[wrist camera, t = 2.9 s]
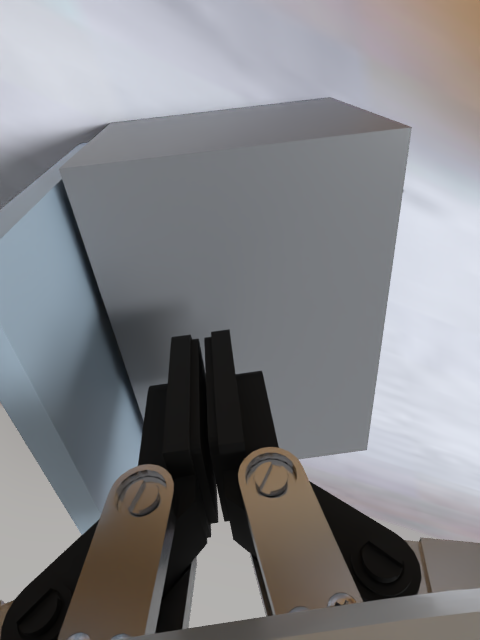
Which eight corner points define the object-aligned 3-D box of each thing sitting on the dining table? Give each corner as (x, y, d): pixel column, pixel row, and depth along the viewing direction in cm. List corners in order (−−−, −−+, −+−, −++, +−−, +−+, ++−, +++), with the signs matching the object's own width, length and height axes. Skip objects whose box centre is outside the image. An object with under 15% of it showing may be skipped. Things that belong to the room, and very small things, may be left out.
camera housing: (110, 122, 16) (58, 168, 10) (330, 97, 16) (411, 127, 10) (176, 385, 24) (169, 498, 18) (322, 366, 25) (363, 471, 19)
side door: (79, 143, 16) (-78, 274, 7) (100, 141, 16) (-29, 268, 7) (147, 371, 23) (115, 589, 13) (161, 369, 23) (138, 586, 13)
